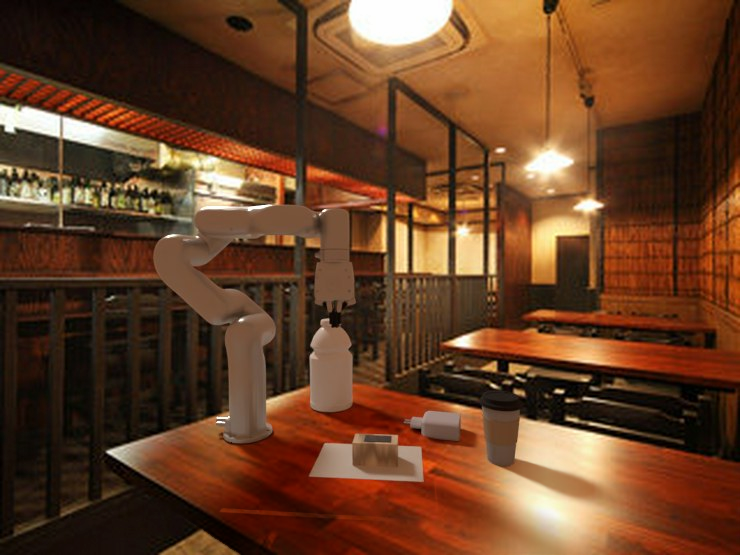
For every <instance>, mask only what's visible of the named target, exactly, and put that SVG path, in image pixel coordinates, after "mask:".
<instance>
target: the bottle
mask: <svg viewBox="0 0 740 555" xmlns="http://www.w3.org/2000/svg"><path fill="white" fill-rule="evenodd" d="M341 326H342V323H341V324H339V327H338V328H335V327H334V328H331V324H329V317H328V318H323V319H321V320H320V327H319V329H318V330H317V331H315V334H314V335H313V338H312V340H311V342H310V345H309V346H310V348H311V349H312V350H313V351H312V352H311V353H310V355H309V390H310V391H309V394H310V395H309V396H310V397H309V398H310V399H309V404H310V405H309V406H310V408H312V409H313V410H315V411H317V412H322V413H338V412H341V411H346V410H348V409H350V408H351V407H352V406H353V404H354V403H353V402H354V397H353V359H354V358H353V353H352V352H351V351H350V350H349V349H350V348H351V346H352V341H351V338H350V336H349V334H348V333H347V332H346V330H344V328H342V327H341Z"/></svg>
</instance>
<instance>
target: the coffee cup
mask: <svg viewBox="0 0 740 555" xmlns="http://www.w3.org/2000/svg"><path fill="white" fill-rule="evenodd" d="M478 402H479V405H481V409H482V413H481V414H482V415H481V417H482V426H483V434H484V440H485V448H486V457H487V460H488V461H489V463H491V464H493V465H497V466H499V467H509V466H512V465H513V464H514V463H515V458H516V449H517V443H518V438H519V437H518V436H519V429H520V420H521V419H520V418H521V417H520V413H521V409H522V408H523V403H522V400H520V397H519V396H518V394H516V393H514V392H510V391H507V390H500V389H499V390H497V389H495V390H494V389H493V390H487V391H484V392H483V393H482V396H481V397H480V398H479V400H478Z"/></svg>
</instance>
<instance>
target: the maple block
mask: <svg viewBox="0 0 740 555" xmlns="http://www.w3.org/2000/svg"><path fill="white" fill-rule="evenodd" d="M351 444H352V465H359V466H383V467H398V446H399V435H398V434H382V433H381V434H380V433H379V434H377V433H355V434H354V437H353V439H352V442H351Z"/></svg>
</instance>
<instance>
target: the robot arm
mask: <svg viewBox="0 0 740 555" xmlns="http://www.w3.org/2000/svg"><path fill="white" fill-rule="evenodd" d="M193 224H194V227H195V229H196V231H197V234H196V235H194V236H191V235H185V234H168V235H166V236H164V237H161V239H159V240H158V241H157V242H156V244H155V247H154V249H153V255H152V256H153V257H152V259H153V264H154V268H155V271H156V273H157V275H158V276H159V278H160V280H162V282H163V283H164V285H166V286H167V287H168V288H170V289H171V290H172V291H173V292H175V293H176V294H177V295H178V296H179V297H180V298H181V299H182V300H183V301H184V302H185V303H186V304H187V305H189V307H191V309H193V310H194V311H195V312H196V313H197V314H198V315H199V316H200V317H202V318H203V319H204V320H205V321H206V322H207V323H209V324H210V325H214V326H221V325H225V324H229V325H228V327H227V329H226V331H225V334H224V344H225V349H226V356H227V366H228V367H227V368H228V369H227V370H228V407H229V408H228V417H227V416H217V417H216V419H215V424H216V425H215V426H216V427H217V428H224V430H223V440H225V441H226V442H228V443H231V442H232V444H249V443H250V444H251V443H256V442H259V441H262V440H264V439H266V438H268V437H269V436H270V435H271V434H272V433H273V426H272V424H271V423H269V422H267V371H266V370H267V368H266V367H267V366H266V357H265V354H264V346H266V345H268V344H269V343H271V341H273V339H274V338H275V336H276V332H277V327H276V324H275V321H274V319H273V318H272V317H271V316H270V315H269V314H268V313H267V312H266V311H265V310H264V309H263V308H262V307H261V306H259V305H258V304H257V303H256V302H255V301H254V300H253V299H252V298H251V297H249V296H248V295H247V294H246V293H245V292H243V291H241V290H238V289H236V288H222V287H220V286H219V285H217V284H216V283H215V282H214V281H212V280H211V279H210V278H209V277H208V276H207V275H206V274H204V273H203V272H202V271H200V270H198V269H196V268H195V267H201V266H204V265H206V264H208V263H209V262H210V261H212V260H213V259H214V258H215V257H217V255H219V254H220V253H221V252H222V251H223V250H224V249H225V248H226V247H227V246H228V245H229V244H230V243H231V242H232V241H233V240H234V239H242V240H243V239H246V240H247V239H248V240H251V239H252V240H253V239H258V238H261V237H263V236H295V237H300V238H303V239H307V240H308V239H311V240H312V239H319V242H320V244H319V246H320V248H319V251H317V252H315V253H314V257H315V258H317V259H319V261H320V262H316V266H315V267H316V268H315V273H314V274H315V275H314V288H313V289H314V291H313V292H314V293H313V294H314V295H313V296H314V298H315V299H314V304H315V305H317V306H320V307H321V306H323V308H324V309H326V311H327V312H328V318H329V324H331V328H334V327H335V328H338V327H339V326H340V325H339V324H341V325H342V320H343V319H342V312H343V310H344V309H345V308H346V307H349V306H352V305H355V304H356V303H357V301H356V298H355V297H356V287H355V283H356V282H355V274H354V266H353V262H352V261H350V214H349V212H348V211H347V209H344V208H335V207H334V208H325V209H323V210H322V211H316V210H315V211H314V210H312V209H310V208H309V207H307V206H304V205H300V204H265V205H264V204H263V205H255V206H251V205H250V206H237V205H236V206H226V205H223V206H222V205H220V206H219V205H217V206H215V205H214V206H213V205H210V206H205V207H201V208H200V209H199V210H197V211H196V213H195V215H194V217H193ZM335 301H336V302H337V303H336V309H335V307H334V306H335V305H334V302H335Z"/></svg>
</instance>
